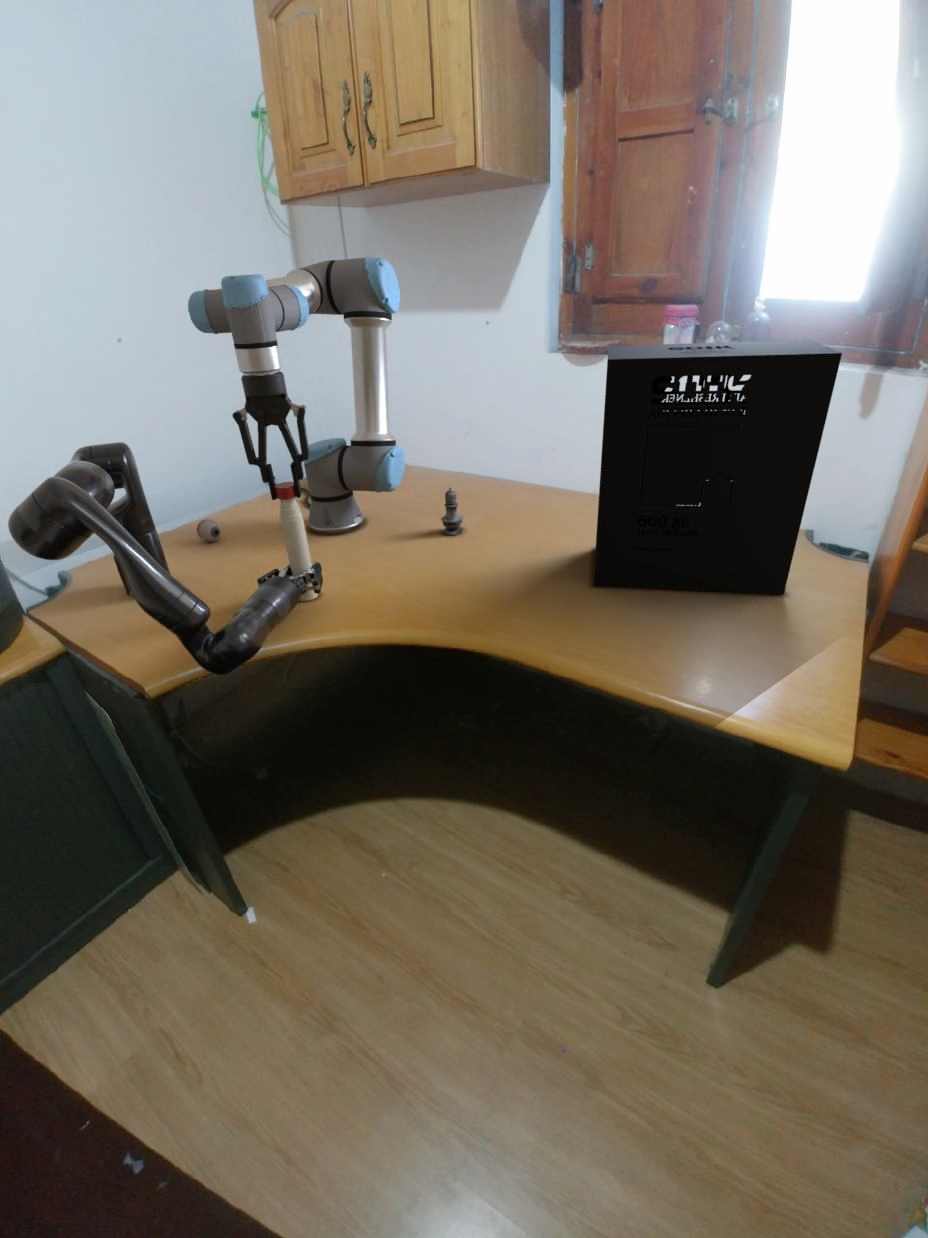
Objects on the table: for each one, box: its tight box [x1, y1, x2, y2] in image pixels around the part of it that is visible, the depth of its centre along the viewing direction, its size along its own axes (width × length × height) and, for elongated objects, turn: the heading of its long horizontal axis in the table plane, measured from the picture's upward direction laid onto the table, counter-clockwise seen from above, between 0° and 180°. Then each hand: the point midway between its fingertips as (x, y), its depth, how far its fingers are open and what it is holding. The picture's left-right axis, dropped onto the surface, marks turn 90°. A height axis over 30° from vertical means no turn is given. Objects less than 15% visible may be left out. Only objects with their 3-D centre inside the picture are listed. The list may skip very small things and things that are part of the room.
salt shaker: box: [440, 487, 464, 536], centre depth 158 cm, size 6×6×12 cm
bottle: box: [279, 497, 319, 602], centre depth 126 cm, size 4×4×24 cm
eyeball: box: [196, 518, 222, 543], centre depth 162 cm, size 6×6×6 cm
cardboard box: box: [593, 339, 843, 595], centre depth 123 cm, size 38×20×45 cm, turn 78°
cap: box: [274, 481, 297, 500], centre depth 120 cm, size 4×4×2 cm
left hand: (307, 565), depth 132 cm, fingers closed on bottle, 4 cm apart
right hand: (287, 496), depth 121 cm, fingers closed on cap, 4 cm apart
